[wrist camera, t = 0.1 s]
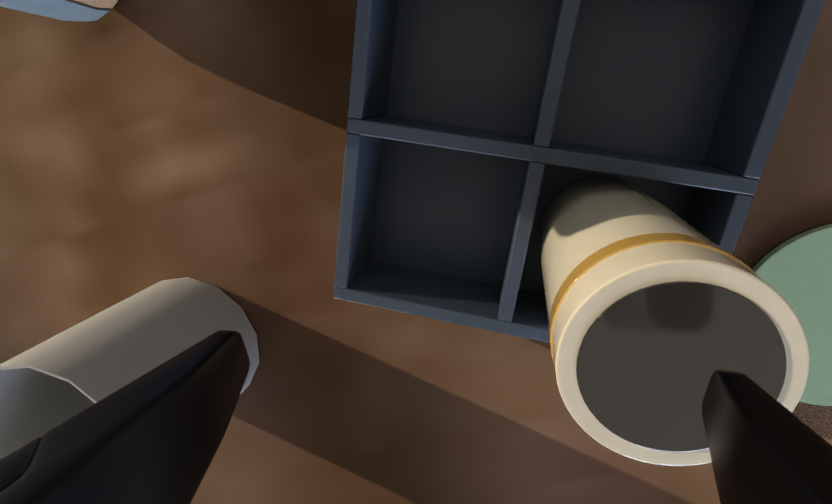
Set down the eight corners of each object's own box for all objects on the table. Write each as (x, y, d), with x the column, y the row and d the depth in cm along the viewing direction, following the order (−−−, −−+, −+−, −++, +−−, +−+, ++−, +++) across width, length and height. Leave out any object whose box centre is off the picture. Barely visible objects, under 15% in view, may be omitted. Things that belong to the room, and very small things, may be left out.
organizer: (660, 325, 24) (690, 372, 20) (361, 266, 26) (332, 298, 22) (776, -26, 19) (847, -60, 15) (393, -62, 21) (364, -100, 17)
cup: (236, 269, 28) (94, 358, 19) (275, 395, 30) (166, 530, 21) (116, 286, 30) (-66, 374, 21) (161, 402, 32) (15, 529, 23)
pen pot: (598, 314, 24) (669, 507, 13) (511, 239, 24) (505, 369, 13) (693, 231, 22) (875, 374, 11) (599, 149, 22) (685, 206, 11)
